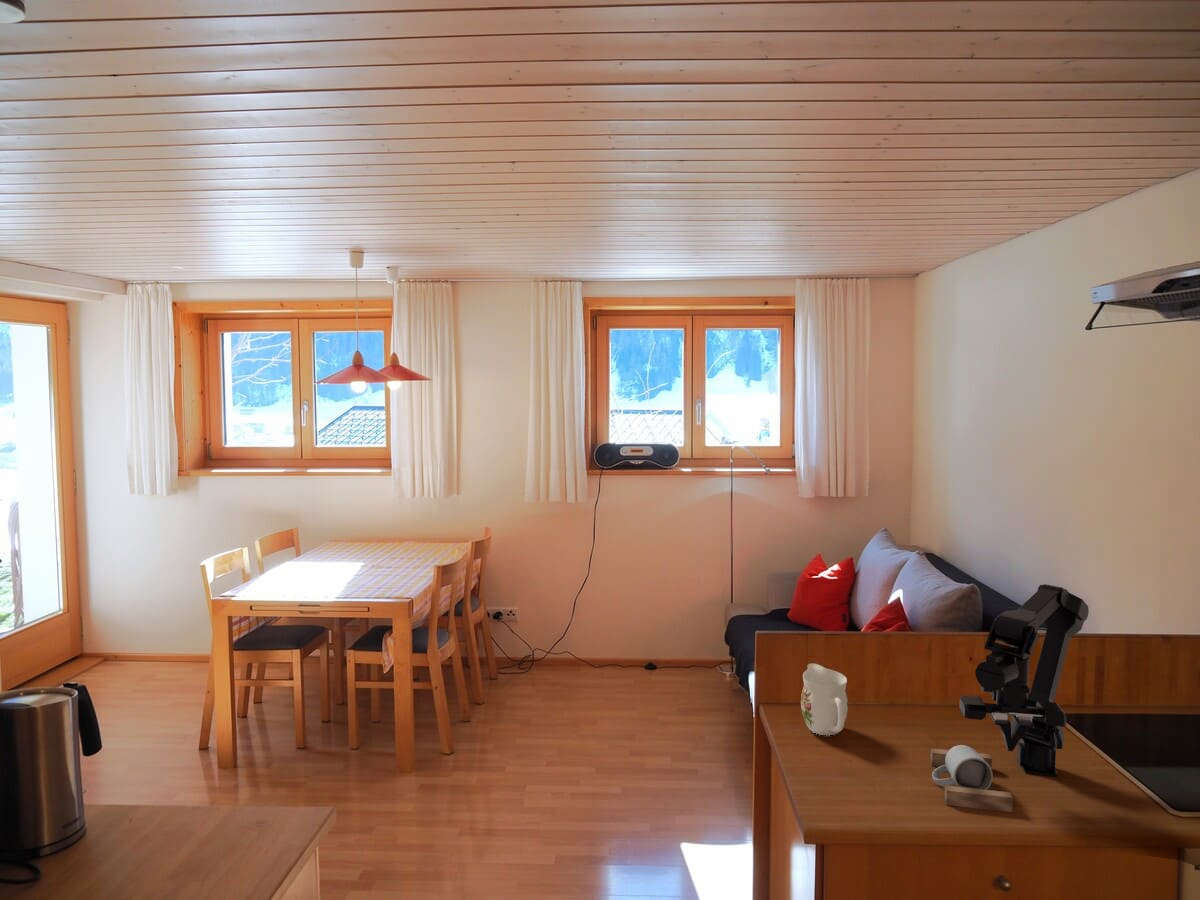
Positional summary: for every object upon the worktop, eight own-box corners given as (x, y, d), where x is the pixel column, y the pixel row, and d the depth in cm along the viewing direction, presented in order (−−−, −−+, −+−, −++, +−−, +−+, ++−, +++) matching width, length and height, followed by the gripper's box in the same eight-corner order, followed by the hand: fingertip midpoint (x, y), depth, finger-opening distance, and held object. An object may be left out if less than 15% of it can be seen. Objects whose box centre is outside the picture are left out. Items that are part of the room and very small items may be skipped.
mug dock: (989, 767, 169) (989, 754, 169) (1012, 812, 152) (1012, 797, 152) (930, 761, 172) (930, 748, 172) (946, 804, 155) (946, 790, 154)
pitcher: (819, 751, 177) (820, 693, 176) (789, 717, 195) (790, 664, 194) (864, 747, 179) (865, 690, 178) (831, 714, 197) (832, 661, 195)
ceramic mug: (978, 775, 166) (978, 740, 165) (993, 795, 158) (993, 759, 157) (926, 773, 167) (927, 739, 167) (939, 794, 159) (939, 758, 158)
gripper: (1050, 666, 164) (1047, 736, 165) (955, 659, 168) (952, 728, 170) (1068, 686, 153) (1065, 762, 154) (966, 679, 157) (964, 753, 159)
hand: (1009, 750), depth 160 cm, fingers closed
